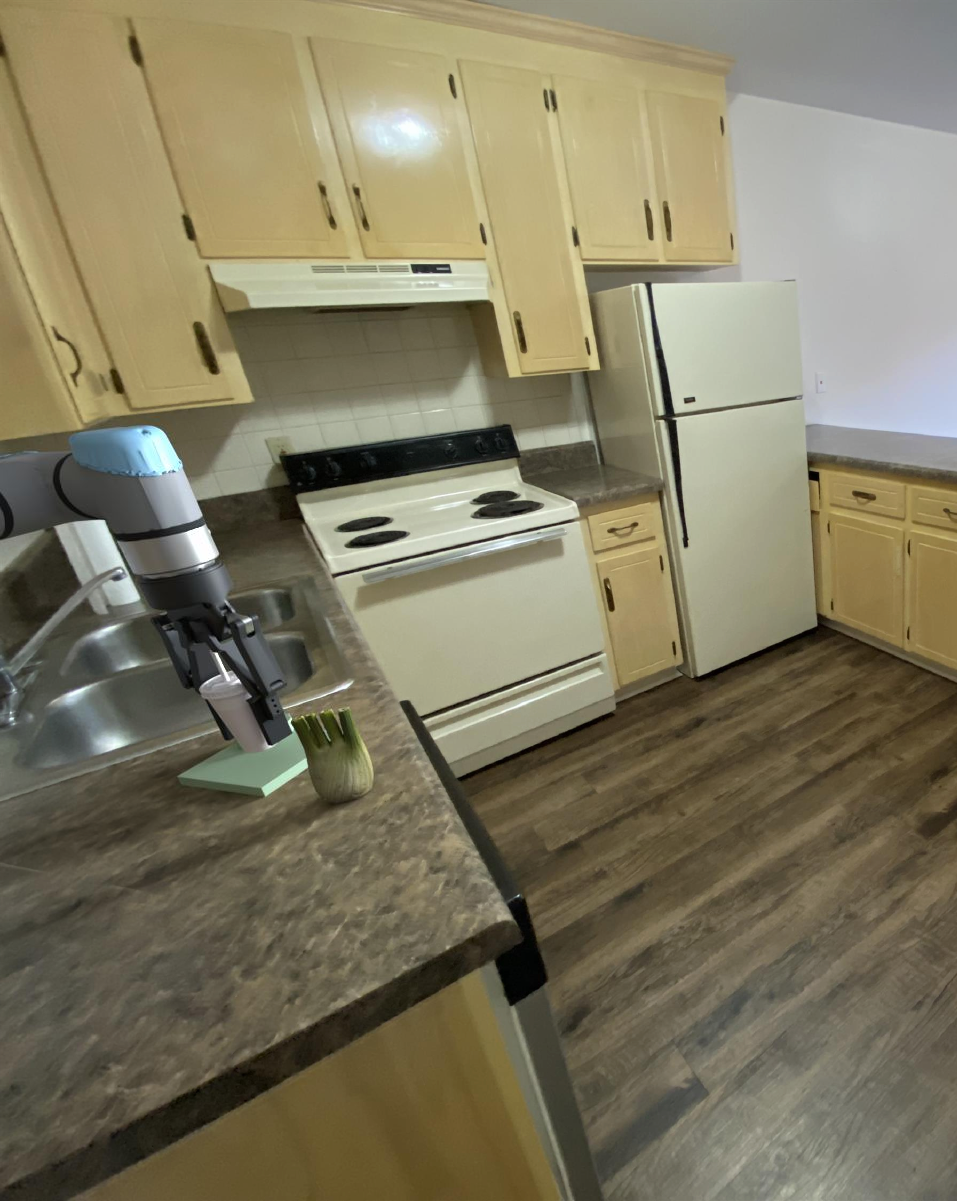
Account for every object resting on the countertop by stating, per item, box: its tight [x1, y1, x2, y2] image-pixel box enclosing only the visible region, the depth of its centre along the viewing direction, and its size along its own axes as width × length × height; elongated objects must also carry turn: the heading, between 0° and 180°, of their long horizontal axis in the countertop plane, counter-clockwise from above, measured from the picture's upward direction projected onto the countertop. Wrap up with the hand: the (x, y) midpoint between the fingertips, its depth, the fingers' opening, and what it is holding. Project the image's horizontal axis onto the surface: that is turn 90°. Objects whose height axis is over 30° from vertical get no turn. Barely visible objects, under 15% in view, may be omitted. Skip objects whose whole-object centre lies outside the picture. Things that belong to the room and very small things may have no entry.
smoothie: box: [199, 650, 276, 753], centre depth 81 cm, size 6×6×14 cm
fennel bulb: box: [291, 706, 375, 805], centre depth 77 cm, size 6×5×12 cm
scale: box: [176, 712, 343, 798], centre depth 87 cm, size 14×13×3 cm
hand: (258, 736), depth 83 cm, fingers closed on smoothie, 6 cm apart
